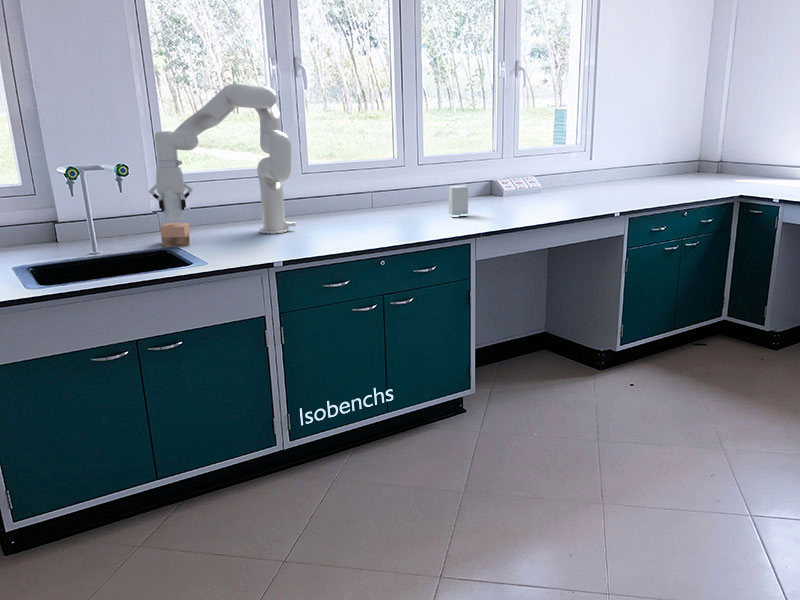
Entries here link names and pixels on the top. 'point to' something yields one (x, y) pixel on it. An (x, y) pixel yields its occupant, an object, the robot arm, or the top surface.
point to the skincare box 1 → (172, 206)
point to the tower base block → (176, 241)
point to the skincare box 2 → (458, 200)
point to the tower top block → (175, 230)
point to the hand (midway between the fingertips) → (173, 209)
